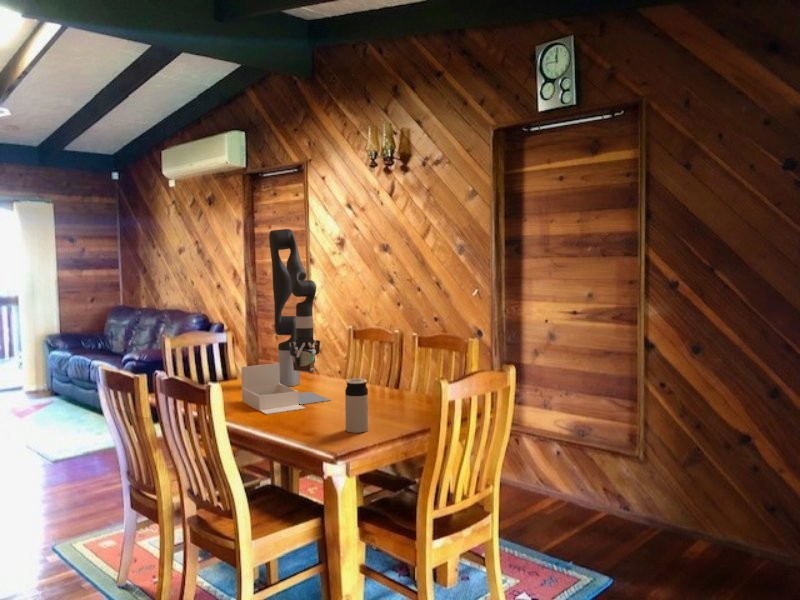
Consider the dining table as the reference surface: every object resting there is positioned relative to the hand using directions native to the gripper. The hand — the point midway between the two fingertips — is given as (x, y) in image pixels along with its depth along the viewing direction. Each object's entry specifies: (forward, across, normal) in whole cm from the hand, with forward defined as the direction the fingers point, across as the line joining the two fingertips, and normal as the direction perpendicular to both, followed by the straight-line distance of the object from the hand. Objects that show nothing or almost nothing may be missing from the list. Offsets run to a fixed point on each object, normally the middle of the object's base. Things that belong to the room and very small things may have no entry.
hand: (305, 364), depth 280 cm
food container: (+3, -1, 0) cm, 3 cm away
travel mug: (+15, +7, +57) cm, 59 cm away
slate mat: (+15, 0, 0) cm, 15 cm away
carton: (+15, +16, +4) cm, 22 cm away
